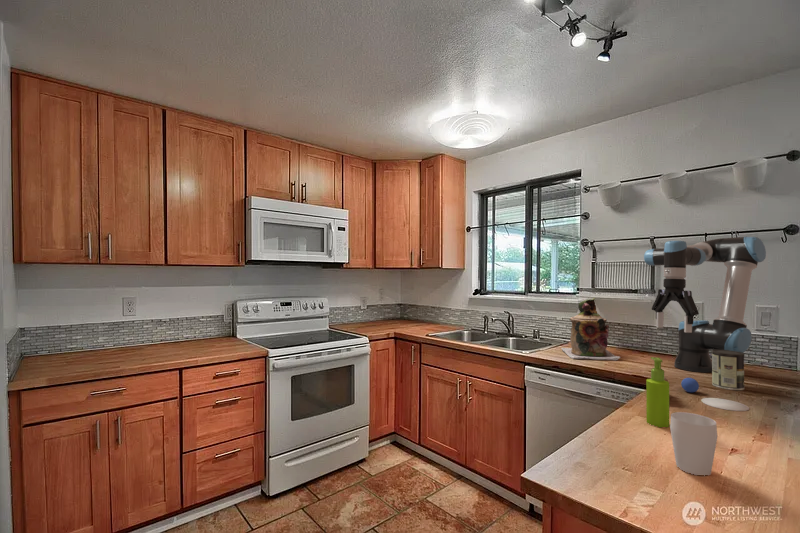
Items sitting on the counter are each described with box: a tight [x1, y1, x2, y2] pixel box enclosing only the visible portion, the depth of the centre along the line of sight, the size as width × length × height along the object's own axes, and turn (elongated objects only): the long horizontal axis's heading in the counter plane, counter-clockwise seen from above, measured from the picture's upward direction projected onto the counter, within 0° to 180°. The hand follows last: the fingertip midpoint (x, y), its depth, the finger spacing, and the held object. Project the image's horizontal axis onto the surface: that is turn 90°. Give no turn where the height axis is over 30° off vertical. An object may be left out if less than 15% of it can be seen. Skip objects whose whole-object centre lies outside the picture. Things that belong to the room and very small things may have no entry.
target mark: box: [700, 397, 750, 412], centre depth 138 cm, size 13×13×1 cm
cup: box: [669, 411, 718, 477], centre depth 93 cm, size 9×9×12 cm
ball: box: [680, 377, 700, 393], centre depth 152 cm, size 6×6×6 cm
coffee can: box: [711, 350, 745, 391], centre depth 160 cm, size 10×10×14 cm
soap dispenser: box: [645, 356, 670, 428], centre depth 121 cm, size 6×7×20 cm
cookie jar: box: [560, 297, 621, 361], centre depth 217 cm, size 25×25×32 cm
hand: (673, 330), depth 162 cm, fingers open, 13 cm apart
